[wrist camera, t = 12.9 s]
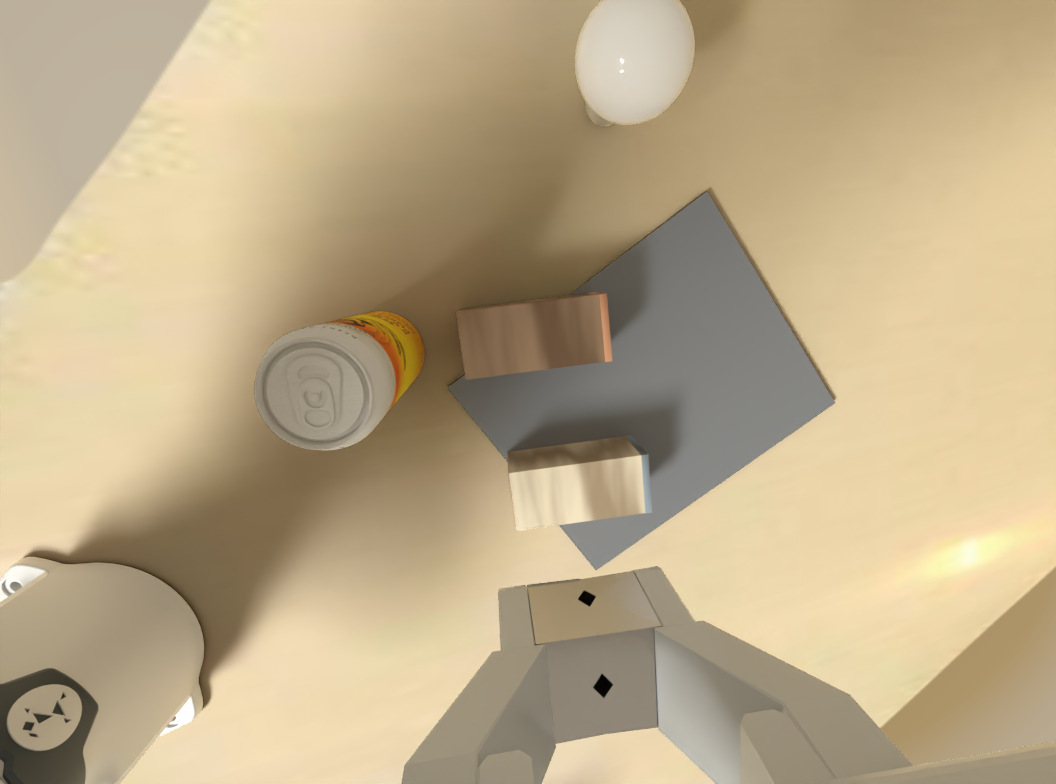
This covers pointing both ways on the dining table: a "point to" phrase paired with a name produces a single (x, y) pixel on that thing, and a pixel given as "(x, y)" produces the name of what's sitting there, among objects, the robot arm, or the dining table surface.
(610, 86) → the lightbulb
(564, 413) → the rubber mat
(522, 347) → the walnut block
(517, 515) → the maple block
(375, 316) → the beer can
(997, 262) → the dining table surface
